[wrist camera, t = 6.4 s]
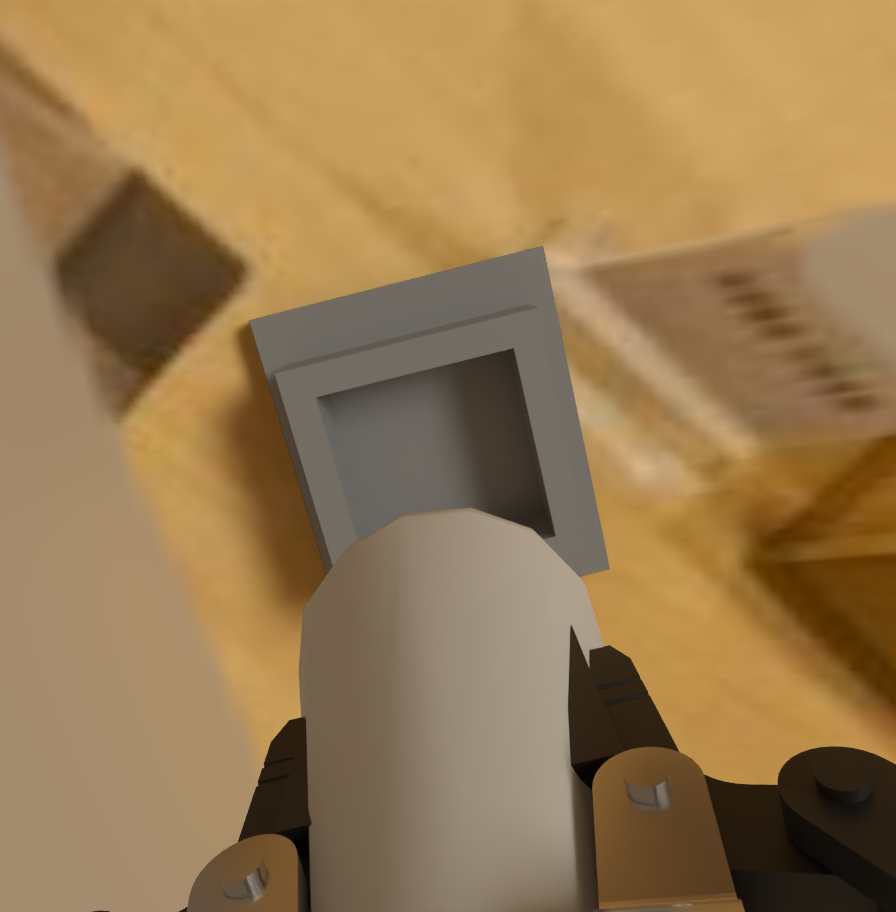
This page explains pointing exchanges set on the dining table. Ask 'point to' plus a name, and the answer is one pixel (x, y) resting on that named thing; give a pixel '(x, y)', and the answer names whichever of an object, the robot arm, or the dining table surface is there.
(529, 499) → the socket
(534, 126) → the dining table surface
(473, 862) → the salt shaker
